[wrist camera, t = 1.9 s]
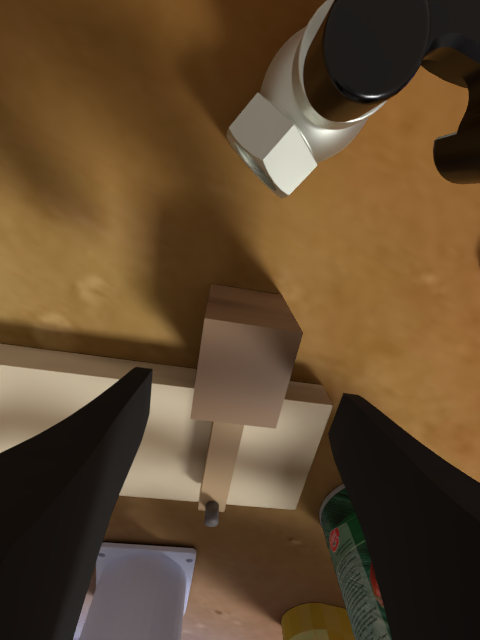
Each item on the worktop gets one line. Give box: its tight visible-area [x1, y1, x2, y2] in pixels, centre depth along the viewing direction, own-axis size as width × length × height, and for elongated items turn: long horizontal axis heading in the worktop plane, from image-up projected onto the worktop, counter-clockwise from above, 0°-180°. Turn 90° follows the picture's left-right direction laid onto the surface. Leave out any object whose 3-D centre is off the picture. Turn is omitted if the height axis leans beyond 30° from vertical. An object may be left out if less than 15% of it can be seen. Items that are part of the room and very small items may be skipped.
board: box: [0, 344, 333, 510], centre depth 18 cm, size 9×26×2 cm, turn 80°
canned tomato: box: [319, 483, 392, 640], centre depth 19 cm, size 8×8×11 cm
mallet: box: [190, 284, 303, 527], centre depth 17 cm, size 13×4×5 cm, turn 170°
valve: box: [226, 0, 480, 198], centre depth 8 cm, size 7×7×12 cm
